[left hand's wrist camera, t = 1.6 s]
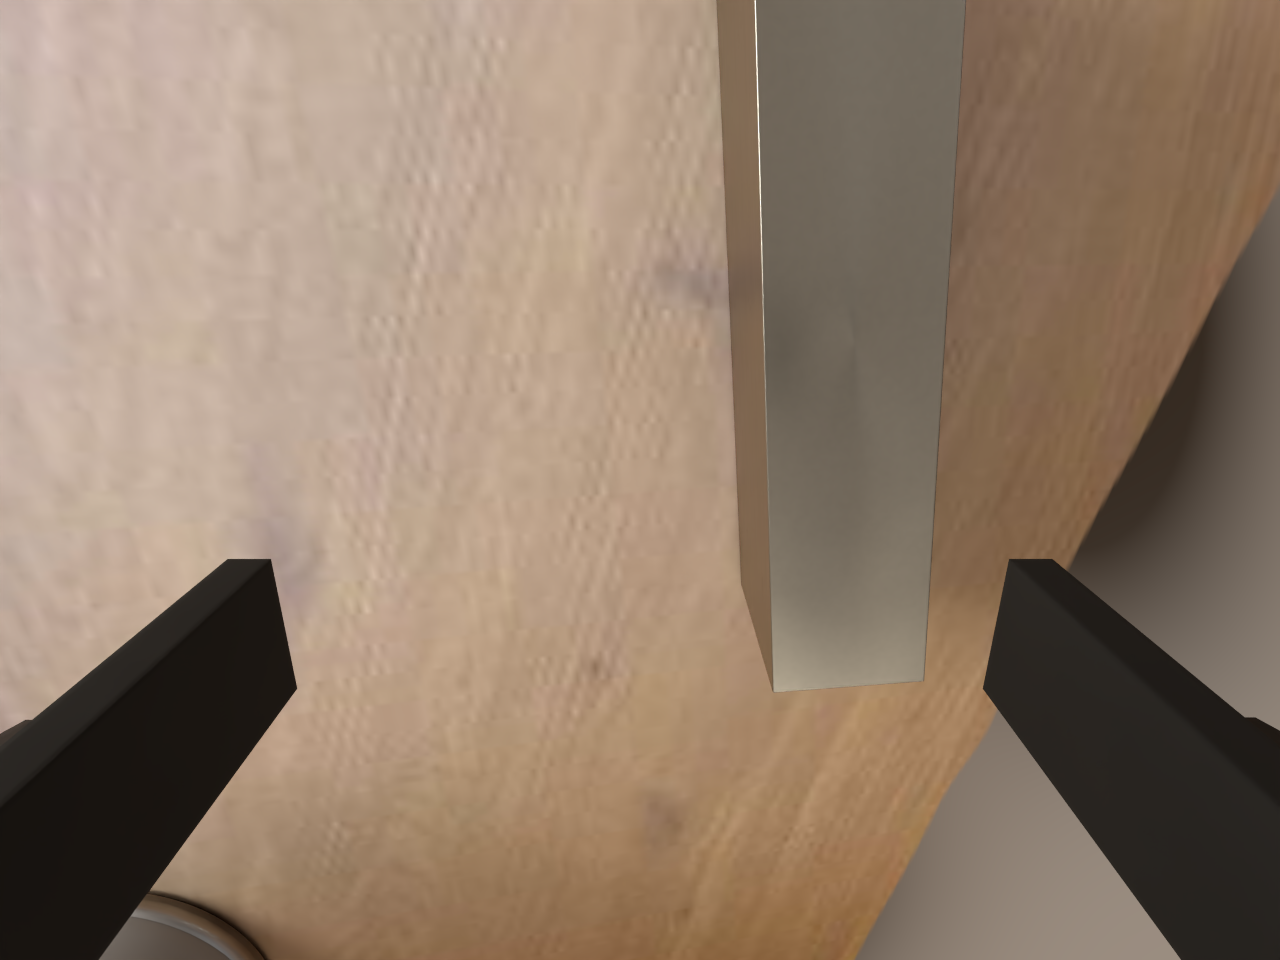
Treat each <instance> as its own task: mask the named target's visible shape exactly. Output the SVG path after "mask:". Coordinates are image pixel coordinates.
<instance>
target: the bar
mask: <svg viewBox="0 0 1280 960" xmlns="http://www.w3.org/2000/svg"><path fill="white" fill-rule="evenodd" d="M965 8H966V0H717V18H718V42H719V66H720V89H721V113H722V137H723V160H724V184H725V208H726V232H727V255H728V279H729V303H730V326H731V350H732V374H733V397H734V421H735V445H736V469H737V492H738V516H739V540H740V563H741V585H742V588H743V592H744V595H745V599H746V602H747V606H748V609H749V612H750V616H751V619H752V623H753V626H754V629H755V633H756V636H757V640H758V643H759V646H760V650H761V653H762V657H763V660H764V664H765V667H766V670H767V674H768V677H769V681H770V684H771V687H772V691H773V692H787V691H801V690H814V689H827V688H840V687H853V686H866V685H879V684H892V683H906V682H919V681H924V673H925V656H926V640H927V624H928V608H929V592H930V575H931V559H932V543H933V527H934V511H935V494H936V478H937V462H938V446H939V430H940V413H941V397H942V381H943V365H944V349H945V332H946V316H947V300H948V284H949V268H950V251H951V235H952V219H953V203H954V186H955V170H956V154H957V138H958V122H959V105H960V89H961V73H962V57H963V41H964V24H965Z"/></svg>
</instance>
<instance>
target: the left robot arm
mask: <svg viewBox="0 0 1280 960" xmlns="http://www.w3.org/2000/svg"><path fill="white" fill-rule="evenodd" d="M296 689H297V686H296V681H295V676H294V671H293V666H292V661H291V656H290V651H289V646H288V641H287V636H286V631H285V626H284V622H283V617H282V612H281V607H280V602H279V597H278V592H277V587H276V582H275V577H274V572H273V567H272V562H271V559H227V560H226V561H225V562H224V563H222V564H221V565H220V566H219V567H218V568H216V569H215V570H214V571H213V572H212V573H210V574H209V575H208V576H207V577H205V578H204V579H203V580H202V581H201V582H199V583H198V584H197V585H196V586H194V587H193V588H192V589H191V590H190V591H188V592H187V593H186V594H185V595H184V596H182V597H181V598H180V599H179V600H177V601H176V602H175V603H174V604H173V605H171V606H170V607H169V608H168V609H167V610H165V611H164V612H163V613H162V614H160V615H159V616H158V617H157V618H156V619H154V620H153V621H152V622H151V623H150V624H148V625H147V626H146V627H145V628H143V629H142V630H141V631H140V632H139V633H137V634H136V635H135V636H134V637H133V638H131V639H130V640H129V641H128V642H126V643H125V644H124V645H123V646H122V647H120V648H119V649H118V650H117V651H116V652H114V653H113V654H112V655H111V656H109V657H108V658H107V659H106V660H105V661H103V662H102V663H101V664H100V665H99V666H97V667H96V668H95V669H94V670H92V671H91V672H90V673H89V674H88V675H86V676H85V677H84V678H83V679H82V680H80V681H79V682H78V683H77V684H75V685H74V686H73V687H72V688H71V689H69V690H68V691H67V692H66V693H65V694H63V695H62V696H61V697H60V698H58V699H57V700H56V701H55V702H54V703H52V704H51V705H50V706H49V707H47V708H46V709H45V710H44V711H43V712H41V713H40V714H39V715H38V716H37V717H35V718H34V719H33V720H25V721H23V722H21V723H19V724H17V725H16V726H14V727H12V728H10V729H8V730H6V731H5V732H3V733H1V734H0V960H264V958H263V957H262V955H261V954H260V953H259V952H258V950H257V949H256V948H255V947H254V946H253V945H252V944H251V943H250V942H249V941H248V940H247V939H246V938H245V937H244V936H243V935H241V934H240V933H239V932H238V931H237V930H235V929H234V928H233V927H231V926H230V925H228V924H227V923H225V922H224V921H222V920H220V919H219V918H217V917H215V916H213V915H211V914H210V913H208V912H206V911H203V910H201V909H199V908H197V907H194V906H192V905H189V904H186V903H183V902H180V901H177V900H174V899H170V898H166V897H162V896H157V895H152V894H147V893H148V892H149V890H150V889H151V888H152V886H153V885H154V884H155V882H156V881H157V879H158V878H159V877H160V875H161V874H162V873H163V871H164V870H165V869H166V867H167V866H168V864H169V863H170V862H171V860H172V859H173V858H174V856H175V855H176V853H177V852H178V851H179V849H180V848H181V847H182V845H183V844H184V843H185V841H186V840H187V838H188V837H189V836H190V834H191V833H192V832H193V830H194V829H195V828H196V826H197V825H198V823H199V822H200V821H201V819H202V818H203V817H204V815H205V814H206V812H207V811H208V810H209V808H210V807H211V806H212V804H213V803H214V802H215V800H216V799H217V797H218V796H219V795H220V793H221V792H222V791H223V789H224V788H225V786H226V785H227V784H228V782H229V781H230V780H231V778H232V777H233V776H234V774H235V773H236V771H237V770H238V769H239V767H240V766H241V765H242V763H243V762H244V761H245V759H246V758H247V756H248V755H249V754H250V752H251V751H252V750H253V748H254V747H255V745H256V744H257V743H258V741H259V740H260V739H261V737H262V736H263V735H264V733H265V732H266V730H267V729H268V728H269V726H270V725H271V724H272V722H273V721H274V719H275V718H276V717H277V715H278V714H279V713H280V711H281V710H282V709H283V707H284V706H285V704H286V703H287V702H288V700H289V699H290V698H291V696H292V695H293V694H294V692H295V691H296ZM983 689H984V691H985V692H986V694H987V695H988V696H989V698H990V699H991V700H992V702H993V703H994V704H995V706H996V707H997V709H998V710H999V711H1000V713H1001V714H1002V715H1003V717H1004V718H1005V719H1006V721H1007V722H1008V724H1009V725H1010V726H1011V728H1012V729H1013V730H1014V732H1015V733H1016V735H1017V736H1018V737H1019V739H1020V740H1021V741H1022V743H1023V744H1024V745H1025V747H1026V748H1027V750H1028V751H1029V752H1030V754H1031V755H1032V756H1033V758H1034V759H1035V761H1036V762H1037V763H1038V765H1039V766H1040V767H1041V769H1042V770H1043V771H1044V773H1045V774H1046V776H1047V777H1048V778H1049V780H1050V781H1051V782H1052V784H1053V785H1054V786H1055V788H1056V789H1057V790H1058V792H1059V793H1060V795H1061V796H1062V797H1063V799H1064V800H1065V802H1066V803H1067V804H1068V806H1069V807H1070V808H1071V810H1072V811H1073V812H1074V814H1075V815H1076V817H1077V818H1078V819H1079V821H1080V822H1081V823H1082V825H1083V826H1084V827H1085V829H1086V830H1087V831H1088V833H1089V834H1090V836H1091V837H1092V838H1093V840H1094V841H1095V843H1096V844H1097V845H1098V847H1099V848H1100V849H1101V851H1102V852H1103V853H1104V855H1105V856H1106V858H1107V859H1108V860H1109V862H1110V863H1111V864H1112V866H1113V867H1114V868H1115V870H1116V871H1117V873H1118V874H1119V875H1120V877H1121V878H1122V879H1123V881H1124V882H1125V884H1126V885H1127V886H1128V888H1129V889H1130V890H1131V892H1132V893H1133V894H1134V896H1135V897H1136V899H1137V900H1138V901H1139V903H1140V904H1141V905H1142V907H1143V908H1144V910H1145V911H1146V912H1147V914H1148V915H1149V916H1150V918H1151V919H1152V920H1153V922H1154V923H1155V924H1156V926H1157V927H1158V929H1159V930H1160V931H1161V933H1162V934H1163V936H1164V937H1165V938H1166V940H1167V941H1168V942H1169V944H1170V945H1171V946H1172V948H1173V949H1174V951H1175V952H1176V953H1177V955H1178V956H1179V957H1180V959H1181V960H1280V731H1279V730H1277V729H1276V728H1274V727H1272V726H1270V725H1268V724H1266V723H1264V722H1263V721H1261V720H1259V719H1257V718H1245V717H1243V716H1242V715H1241V714H1240V713H1239V712H1237V711H1236V710H1235V709H1234V708H1233V707H1231V706H1230V705H1229V704H1228V703H1226V702H1225V701H1224V700H1223V699H1221V698H1220V697H1219V696H1218V695H1217V694H1215V693H1214V692H1213V691H1212V690H1211V689H1209V688H1208V687H1207V686H1206V685H1205V684H1203V683H1202V682H1201V681H1200V680H1198V679H1197V678H1196V677H1195V676H1194V675H1192V674H1191V673H1190V672H1189V671H1188V670H1186V669H1185V668H1184V667H1183V666H1181V665H1180V664H1179V663H1178V662H1177V661H1175V660H1174V659H1173V658H1172V657H1170V656H1169V655H1168V654H1167V653H1166V652H1164V651H1163V650H1162V649H1161V648H1160V647H1158V646H1157V645H1156V644H1155V643H1153V642H1152V641H1151V640H1150V639H1149V638H1147V637H1146V636H1145V635H1144V634H1143V633H1141V632H1140V631H1139V630H1138V629H1137V628H1135V627H1134V626H1133V625H1132V624H1130V623H1129V622H1128V621H1127V620H1126V619H1124V618H1123V617H1122V616H1121V615H1120V614H1118V613H1117V612H1116V611H1115V610H1113V609H1112V608H1111V607H1110V606H1109V605H1107V604H1106V603H1105V602H1104V601H1102V600H1101V599H1100V598H1099V597H1098V596H1096V595H1095V594H1094V593H1093V592H1092V591H1090V590H1089V589H1088V588H1087V587H1086V586H1084V585H1083V584H1082V583H1081V582H1079V581H1078V580H1077V579H1076V578H1075V577H1073V576H1072V575H1071V574H1070V573H1068V572H1067V571H1066V570H1065V569H1064V568H1062V567H1061V566H1060V565H1059V564H1058V563H1056V562H1055V561H1054V560H1053V559H1009V562H1008V567H1007V572H1006V577H1005V582H1004V587H1003V592H1002V597H1001V602H1000V607H999V612H998V617H997V622H996V626H995V631H994V636H993V641H992V646H991V651H990V656H989V661H988V666H987V671H986V676H985V681H984V686H983Z"/></svg>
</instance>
